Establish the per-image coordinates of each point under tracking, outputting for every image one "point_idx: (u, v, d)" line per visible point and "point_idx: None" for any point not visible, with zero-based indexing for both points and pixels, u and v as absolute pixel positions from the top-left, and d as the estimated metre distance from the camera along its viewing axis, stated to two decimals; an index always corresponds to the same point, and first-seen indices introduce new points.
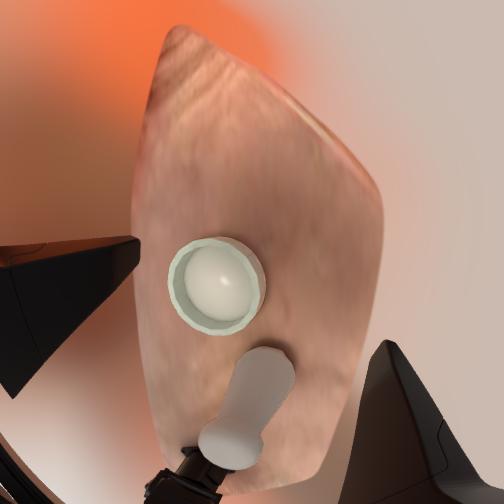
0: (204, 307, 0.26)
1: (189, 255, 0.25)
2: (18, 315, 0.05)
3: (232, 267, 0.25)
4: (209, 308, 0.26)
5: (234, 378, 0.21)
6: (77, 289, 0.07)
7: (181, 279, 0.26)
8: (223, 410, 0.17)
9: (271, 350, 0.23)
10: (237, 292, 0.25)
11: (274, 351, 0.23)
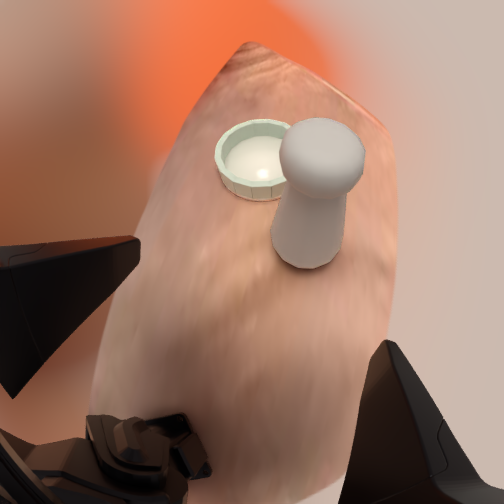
0: None
1: (239, 138, 0.27)
2: (19, 315, 0.05)
3: (277, 151, 0.27)
4: None
5: None
6: (77, 289, 0.07)
7: (224, 156, 0.27)
8: None
9: None
10: (279, 168, 0.26)
11: None
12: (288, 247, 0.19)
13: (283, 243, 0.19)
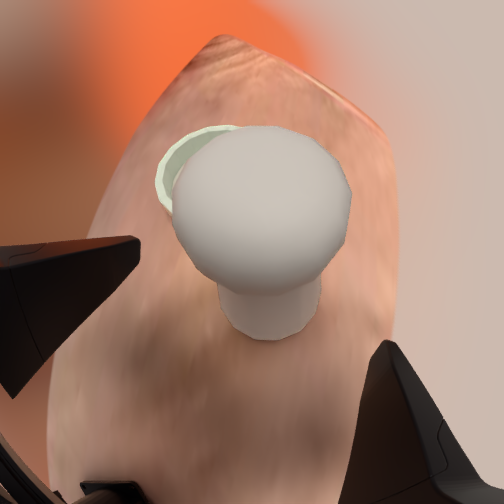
0: None
1: (192, 152, 0.21)
2: (19, 315, 0.05)
3: None
4: None
5: None
6: (77, 289, 0.07)
7: (172, 177, 0.21)
8: None
9: None
10: None
11: None
12: (236, 321, 0.13)
13: (229, 314, 0.13)
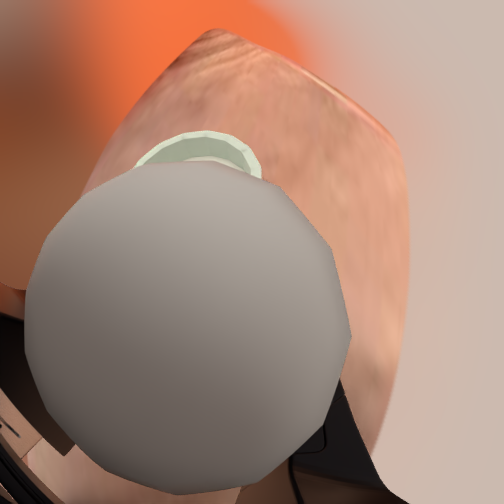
0: None
1: None
2: None
3: None
4: None
5: None
6: None
7: None
8: None
9: None
10: None
11: None
12: None
13: None
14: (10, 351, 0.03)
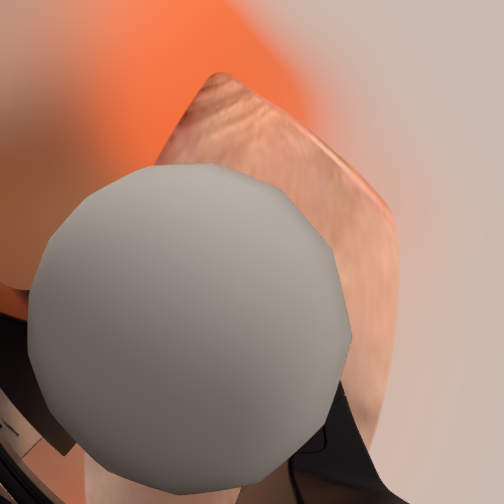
0: None
1: None
2: None
3: None
4: None
5: None
6: None
7: None
8: None
9: None
10: None
11: None
12: None
13: None
14: (10, 351, 0.03)
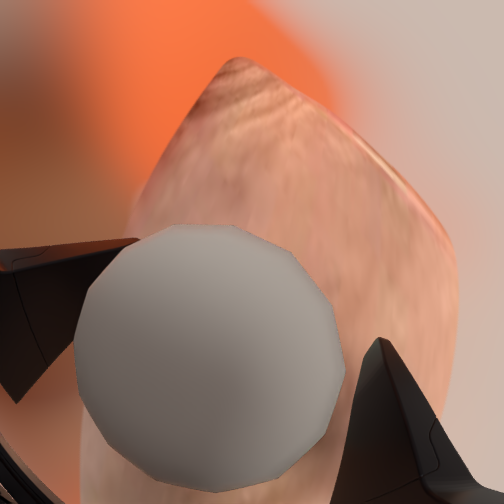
0: None
1: None
2: (22, 319, 0.05)
3: None
4: None
5: None
6: (82, 293, 0.07)
7: None
8: None
9: None
10: None
11: None
12: None
13: None
14: None
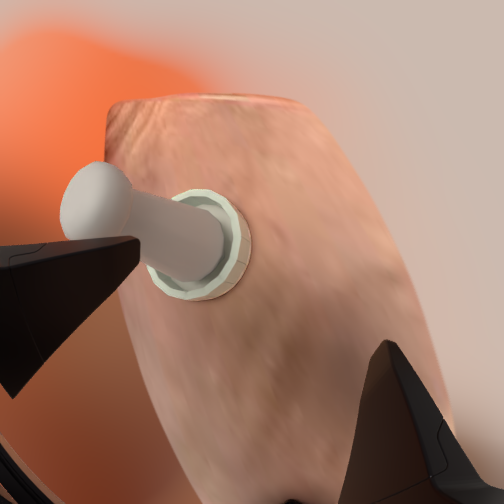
0: (194, 283, 0.22)
1: None
2: (18, 315, 0.05)
3: None
4: (200, 280, 0.22)
5: None
6: (77, 289, 0.07)
7: None
8: None
9: None
10: None
11: None
12: (170, 274, 0.18)
13: (165, 273, 0.18)
14: None
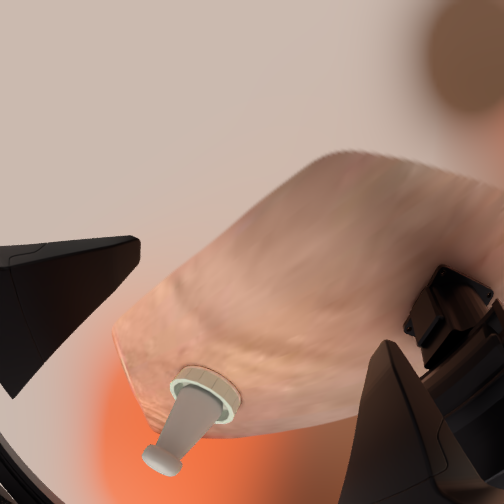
0: None
1: None
2: (19, 315, 0.05)
3: None
4: None
5: None
6: (77, 289, 0.07)
7: (226, 412, 0.31)
8: None
9: None
10: None
11: None
12: (210, 419, 0.26)
13: (211, 421, 0.26)
14: None
